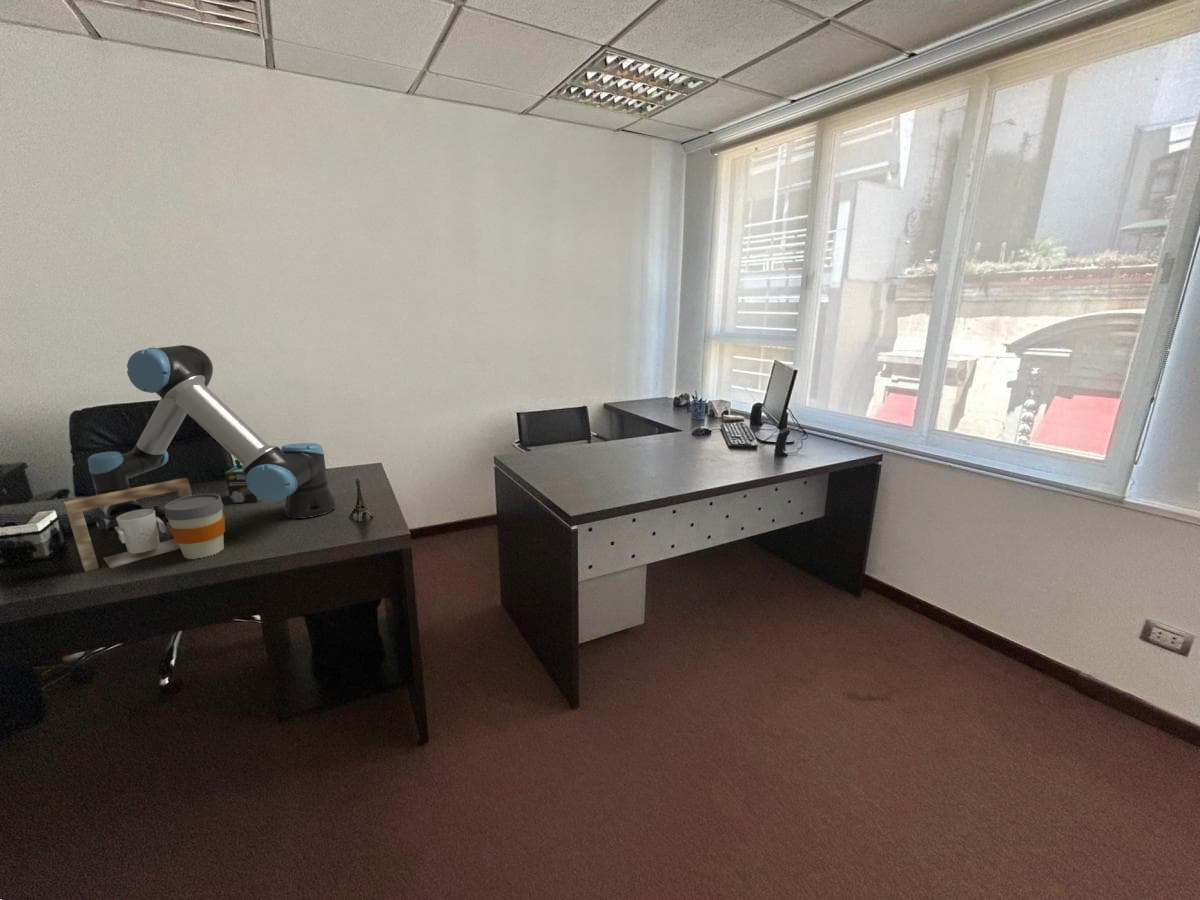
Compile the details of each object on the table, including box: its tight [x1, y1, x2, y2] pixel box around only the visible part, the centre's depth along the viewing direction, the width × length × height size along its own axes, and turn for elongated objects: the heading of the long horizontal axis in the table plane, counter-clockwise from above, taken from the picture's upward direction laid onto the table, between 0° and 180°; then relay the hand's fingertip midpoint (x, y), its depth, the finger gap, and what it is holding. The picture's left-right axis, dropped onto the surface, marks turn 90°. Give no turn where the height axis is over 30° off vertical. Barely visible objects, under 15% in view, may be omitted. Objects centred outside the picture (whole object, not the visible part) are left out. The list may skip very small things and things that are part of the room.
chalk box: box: [224, 459, 262, 504], centre depth 176 cm, size 9×9×15 cm
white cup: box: [116, 508, 161, 553], centre depth 137 cm, size 8×8×10 cm
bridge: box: [63, 477, 193, 572], centre depth 136 cm, size 24×8×18 cm, turn 142°
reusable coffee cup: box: [164, 493, 226, 560], centre depth 138 cm, size 13×13×15 cm
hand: (143, 532), depth 134 cm, fingers closed on white cup, 7 cm apart
